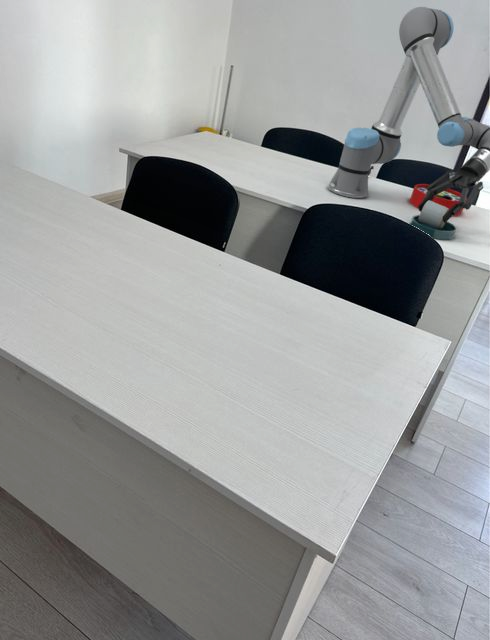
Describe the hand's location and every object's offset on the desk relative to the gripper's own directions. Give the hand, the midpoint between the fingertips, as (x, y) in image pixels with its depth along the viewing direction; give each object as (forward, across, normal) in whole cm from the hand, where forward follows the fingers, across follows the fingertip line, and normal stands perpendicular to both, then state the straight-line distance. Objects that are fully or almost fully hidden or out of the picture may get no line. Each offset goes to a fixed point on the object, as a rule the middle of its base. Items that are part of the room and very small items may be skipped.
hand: (431, 214), depth 195 cm
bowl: (+2, 0, +7) cm, 7 cm away
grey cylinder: (+1, -1, +5) cm, 5 cm away
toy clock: (-17, -19, +27) cm, 37 cm away
